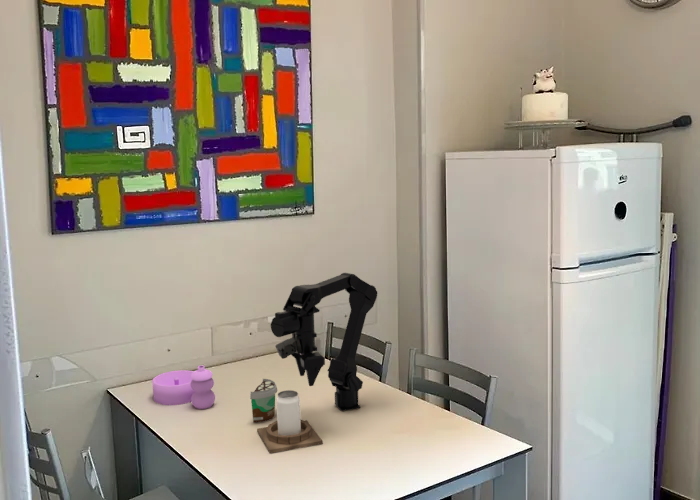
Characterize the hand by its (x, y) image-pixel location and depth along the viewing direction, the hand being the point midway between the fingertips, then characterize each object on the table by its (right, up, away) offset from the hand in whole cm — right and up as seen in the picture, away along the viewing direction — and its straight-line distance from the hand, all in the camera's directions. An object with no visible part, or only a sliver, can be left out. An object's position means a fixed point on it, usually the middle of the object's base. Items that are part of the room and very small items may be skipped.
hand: (306, 380), depth 207 cm
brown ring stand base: (-4, -15, -8) cm, 17 cm away
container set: (-40, -11, +23) cm, 48 cm away
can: (-4, -14, -8) cm, 17 cm away
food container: (-12, -13, +7) cm, 19 cm away
